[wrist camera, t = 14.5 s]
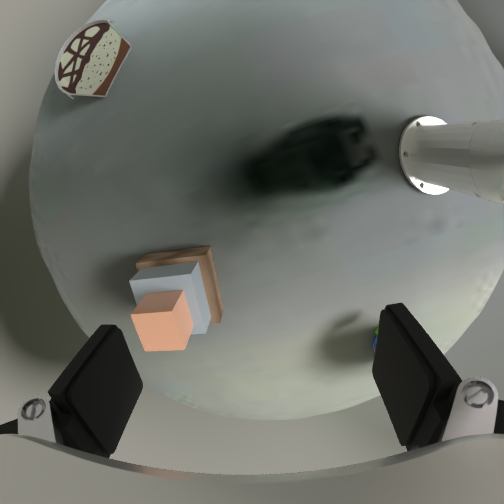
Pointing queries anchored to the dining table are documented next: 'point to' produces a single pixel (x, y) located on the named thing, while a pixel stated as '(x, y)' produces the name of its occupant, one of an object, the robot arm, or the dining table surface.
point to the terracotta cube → (163, 321)
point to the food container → (91, 59)
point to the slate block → (176, 289)
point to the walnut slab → (206, 268)
